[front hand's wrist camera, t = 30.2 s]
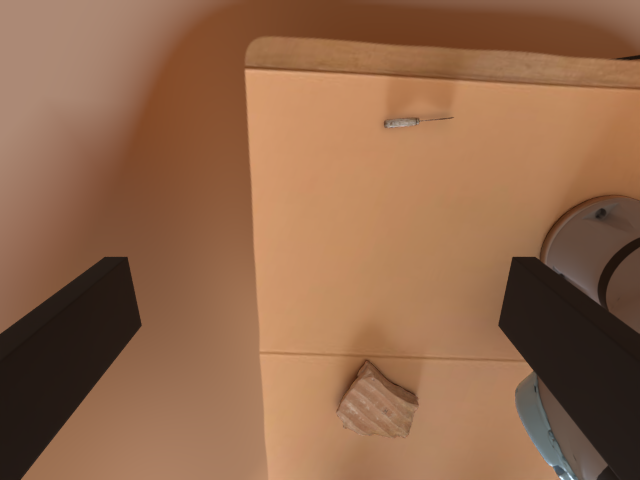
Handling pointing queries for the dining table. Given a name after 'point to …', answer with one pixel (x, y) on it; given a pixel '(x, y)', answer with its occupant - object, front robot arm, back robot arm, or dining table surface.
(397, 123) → the putty knife
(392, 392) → the stone
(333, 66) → the dining table surface
